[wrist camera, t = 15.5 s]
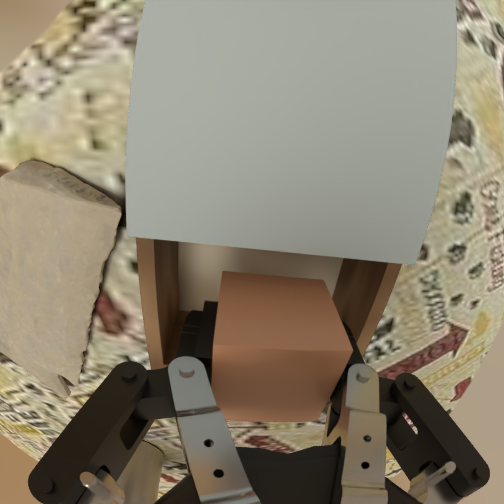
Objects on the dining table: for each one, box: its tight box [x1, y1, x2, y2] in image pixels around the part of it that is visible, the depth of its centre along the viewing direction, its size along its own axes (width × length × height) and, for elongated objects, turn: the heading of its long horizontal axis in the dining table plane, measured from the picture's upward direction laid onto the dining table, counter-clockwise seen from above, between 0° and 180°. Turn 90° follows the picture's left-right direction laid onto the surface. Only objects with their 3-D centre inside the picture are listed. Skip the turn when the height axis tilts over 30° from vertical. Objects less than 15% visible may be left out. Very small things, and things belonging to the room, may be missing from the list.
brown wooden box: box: [136, 237, 402, 370], centre depth 15 cm, size 16×12×6 cm
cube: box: [211, 271, 353, 422], centre depth 12 cm, size 4×4×4 cm
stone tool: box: [0, 160, 122, 399], centre depth 19 cm, size 13×4×25 cm
